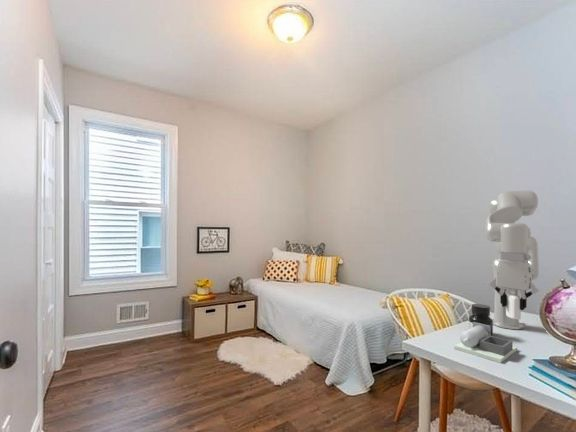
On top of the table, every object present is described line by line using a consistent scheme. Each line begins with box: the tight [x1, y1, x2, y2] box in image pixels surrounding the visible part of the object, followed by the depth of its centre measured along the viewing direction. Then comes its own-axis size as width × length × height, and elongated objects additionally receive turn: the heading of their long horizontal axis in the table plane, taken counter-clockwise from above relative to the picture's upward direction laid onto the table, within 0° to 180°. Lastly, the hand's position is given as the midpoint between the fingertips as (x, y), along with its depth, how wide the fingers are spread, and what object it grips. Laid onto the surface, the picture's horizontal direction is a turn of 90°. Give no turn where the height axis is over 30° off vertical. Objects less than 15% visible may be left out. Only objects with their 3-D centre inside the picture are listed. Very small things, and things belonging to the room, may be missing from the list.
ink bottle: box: [468, 303, 494, 336], centre depth 136 cm, size 10×9×12 cm
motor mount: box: [453, 322, 518, 364], centre depth 118 cm, size 18×15×7 cm
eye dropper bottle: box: [506, 289, 522, 320], centre depth 114 cm, size 4×6×12 cm
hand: (513, 307), depth 113 cm, fingers closed on eye dropper bottle, 4 cm apart
